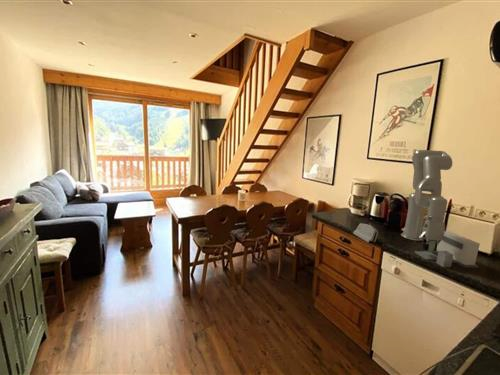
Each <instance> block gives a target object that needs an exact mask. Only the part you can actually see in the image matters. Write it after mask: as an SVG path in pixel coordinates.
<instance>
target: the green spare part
mask: <svg viewBox="0 0 500 375" xmlns="http://www.w3.org/2000/svg"><path fill="white" fill-rule="evenodd" d="M426 241H427V239H426ZM435 243H436V240H429V243H428V244H429V247H428V251H425V250H424V249H423V250H424V251H423V252H429V253H432V254H434V253H435V252H434V248H435Z"/></svg>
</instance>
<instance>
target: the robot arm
mask: <svg viewBox="0 0 500 375" xmlns="http://www.w3.org/2000/svg"><path fill="white" fill-rule="evenodd" d="M411 159H412V165H413V176H412V178H413V179H412V188H413V189H414V190H415V191H414V192H411V193H410V194H409V195H408V207H407V208H408V209H407V213H406V214H407V215H406V220H405V225H404V227H403V228H401V231H403V232H402V233H400V236H401V237H403V238H404V239H407V240H410V241H417V242H418V241H422V250H425V251H424V252H426V251H428V247H429V244H428V243H429V240H436V243H435V248H434V251H436V249H437V245H438V244H439V242H441V241H442V240H443V239H444V231H445V228H446V226H445V222H444V221H445V215H446V210H447V206H448V200H447V199H446V198H445V197H444V196H442V188H443V183H442V180H441V179H442V174H441V173H442V172H441V170H442V171H448V170H451V169H452V167H453V159H452V156H450V155H449V154H448V153H447V152H446V151H443V150H431V149H428V150H427V149H418V150H416V151H414V153H413V154H412V158H411ZM425 192H428V193H425ZM422 208H424V209H425V208H426V209H428V212H427V215H426V217H425V212H424V211H423V209H422ZM424 219H426V220H425V222H424ZM423 223H424V224H423ZM426 239H427V241H426Z"/></svg>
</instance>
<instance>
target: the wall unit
mask: <svg viewBox="0 0 500 375" xmlns="http://www.w3.org/2000/svg"><path fill="white" fill-rule="evenodd" d="M480 244H481V243H479V242H476V241H474V240H472V239H469V238H467V237H464V236H462V235H459V234H457V233H455V232H453V231H449V230H446V231H444V239H443V240H442V241H441V242H439V244H438V245H437V249H436V251H434V253H436V254H437V255H438V252H439V251H447V252H449V253H451V254H453V259H452V263H454V264H456V265H458V266H459V267H462V268H465V269H479V265H478V264H476V261H477V258H478V252H479V248H480Z"/></svg>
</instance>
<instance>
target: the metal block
mask: <svg viewBox="0 0 500 375" xmlns="http://www.w3.org/2000/svg"><path fill="white" fill-rule="evenodd" d="M436 256H437V260H435V263H436V264H437V265H439V266H441V267H442V268H451V267H452V265H453V264H452V263H453V262H452V259H453V254H451V253H449V252H447V251H439V252H438V254H437V255H436Z"/></svg>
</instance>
